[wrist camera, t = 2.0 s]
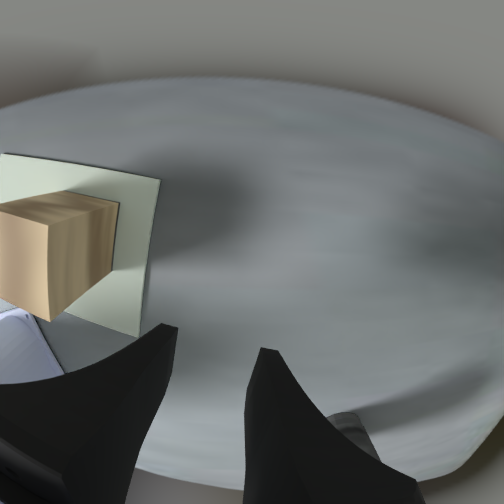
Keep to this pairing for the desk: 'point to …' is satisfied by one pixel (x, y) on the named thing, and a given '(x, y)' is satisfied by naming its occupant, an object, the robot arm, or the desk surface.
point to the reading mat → (127, 235)
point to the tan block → (55, 249)
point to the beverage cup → (353, 431)
